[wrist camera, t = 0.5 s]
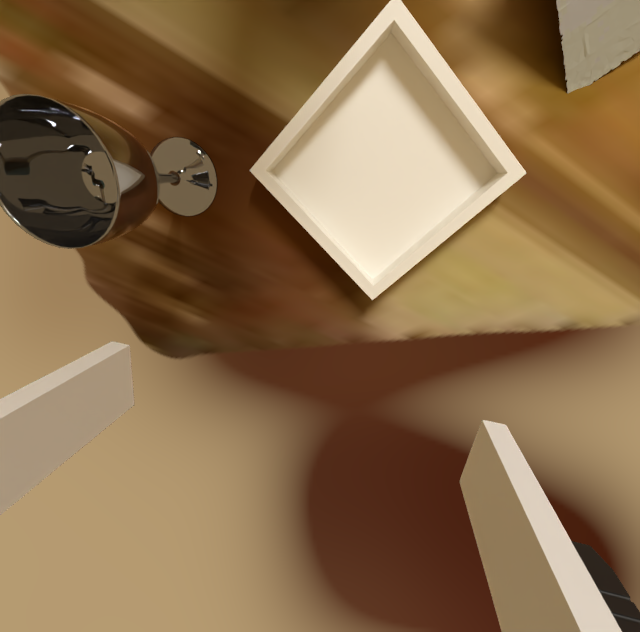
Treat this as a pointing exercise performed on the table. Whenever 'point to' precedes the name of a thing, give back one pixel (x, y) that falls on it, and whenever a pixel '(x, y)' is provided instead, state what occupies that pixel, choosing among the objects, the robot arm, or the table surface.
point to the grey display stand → (597, 37)
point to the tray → (387, 155)
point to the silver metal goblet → (91, 173)
